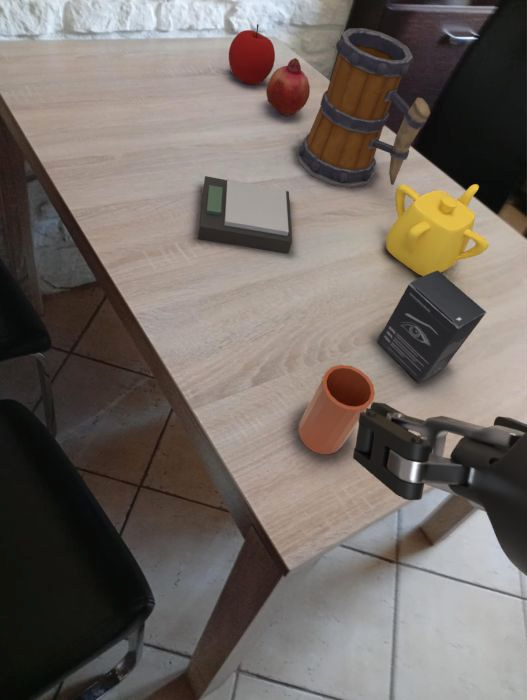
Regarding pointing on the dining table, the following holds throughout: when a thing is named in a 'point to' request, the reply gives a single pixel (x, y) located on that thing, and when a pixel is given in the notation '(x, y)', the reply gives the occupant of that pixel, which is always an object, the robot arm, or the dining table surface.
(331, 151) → the mug
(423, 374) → the box
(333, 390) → the cup
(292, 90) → the fruit
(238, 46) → the apple
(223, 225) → the scale
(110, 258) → the dining table surface
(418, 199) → the teapot
